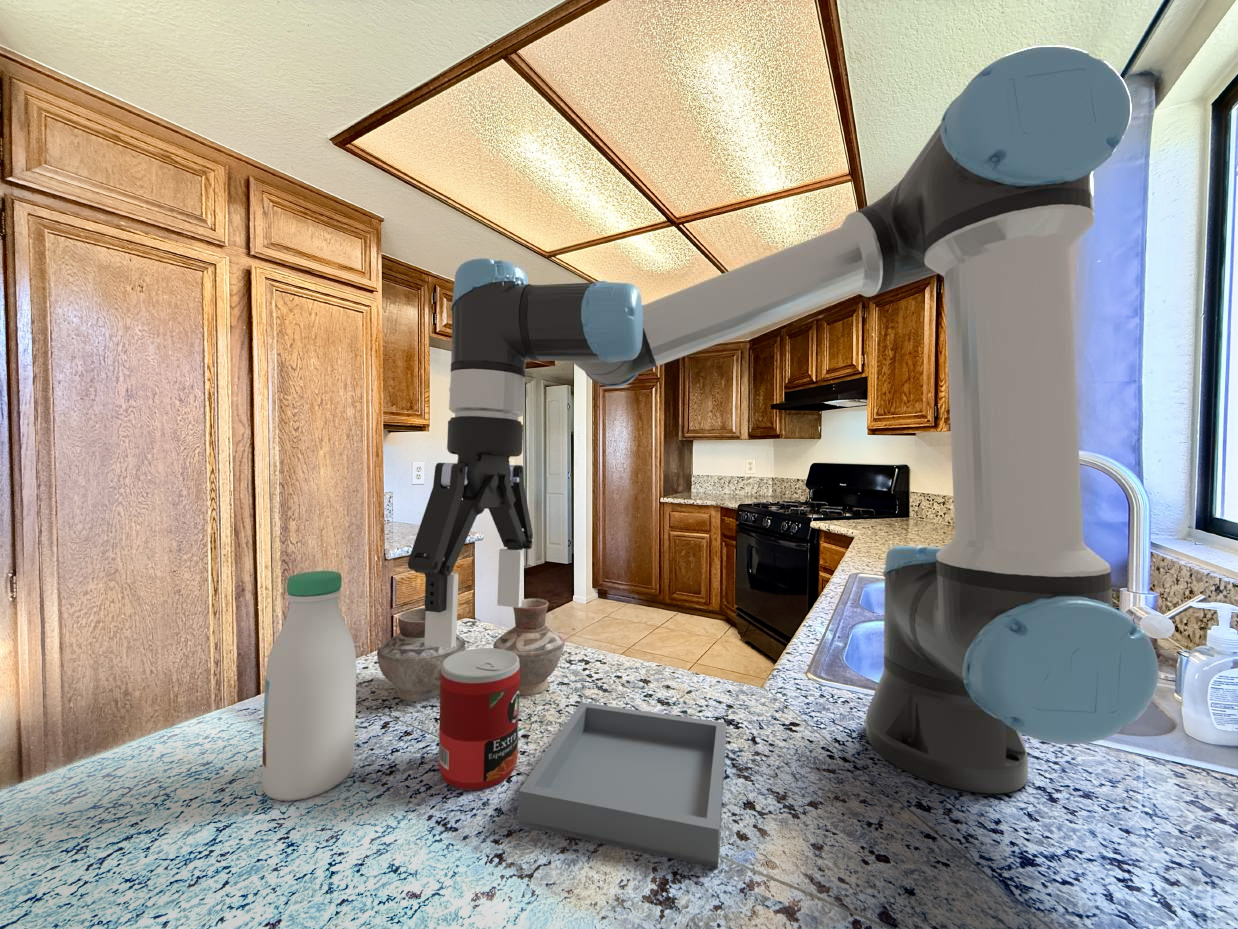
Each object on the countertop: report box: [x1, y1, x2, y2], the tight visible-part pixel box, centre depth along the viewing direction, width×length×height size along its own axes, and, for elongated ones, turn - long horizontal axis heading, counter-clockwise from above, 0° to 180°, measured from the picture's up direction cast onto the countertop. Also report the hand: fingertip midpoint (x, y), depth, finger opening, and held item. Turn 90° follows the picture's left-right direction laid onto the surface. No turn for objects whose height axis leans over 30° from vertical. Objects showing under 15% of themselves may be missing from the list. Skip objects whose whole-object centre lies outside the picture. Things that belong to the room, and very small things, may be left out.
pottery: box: [376, 598, 566, 702], centre depth 69 cm, size 11×25×12 cm, turn 99°
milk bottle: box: [261, 570, 357, 802], centre depth 49 cm, size 8×8×20 cm
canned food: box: [438, 647, 520, 791], centre depth 51 cm, size 8×8×11 cm
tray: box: [517, 701, 727, 869], centre depth 49 cm, size 17×17×3 cm
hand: (479, 623), depth 51 cm, fingers open, 13 cm apart
